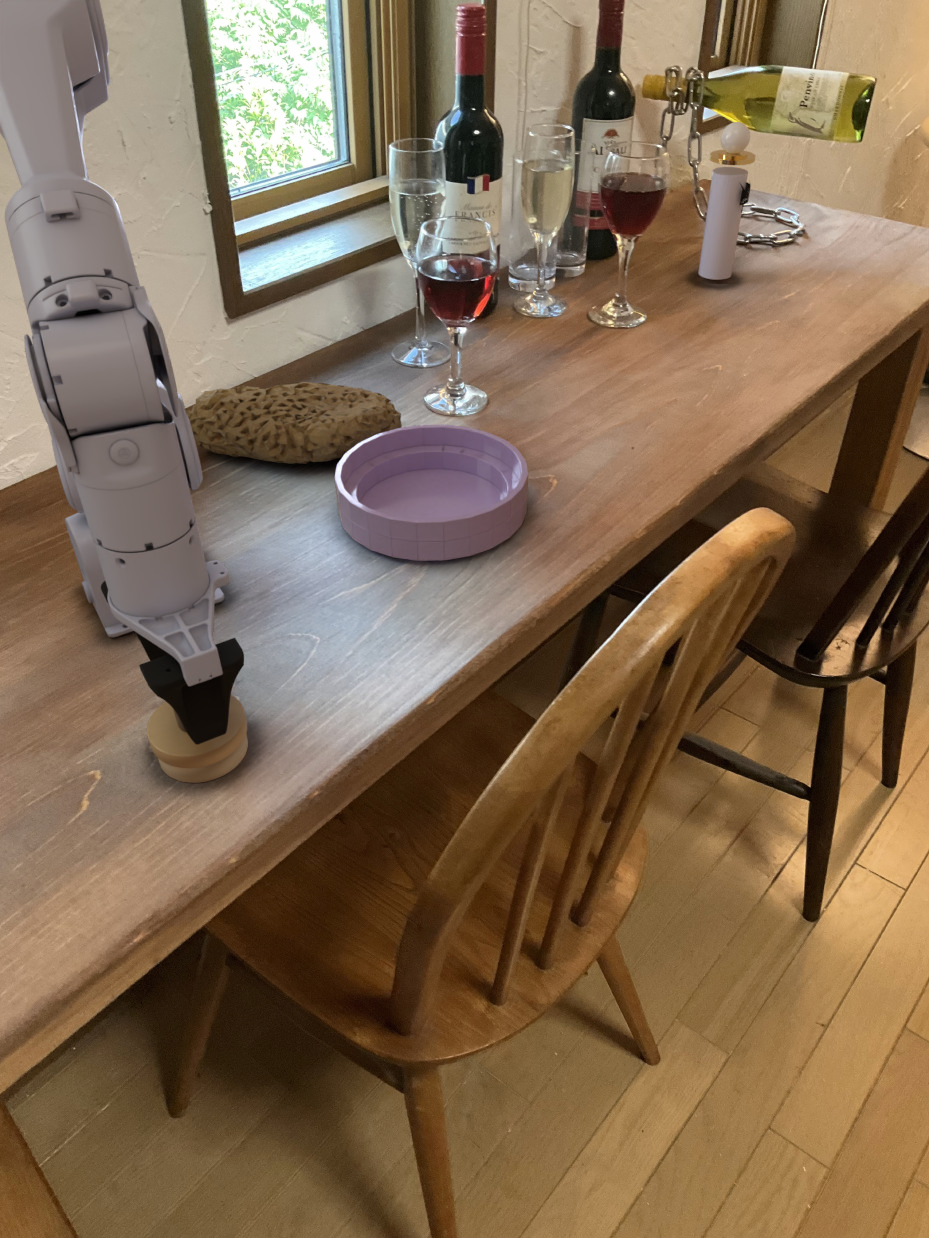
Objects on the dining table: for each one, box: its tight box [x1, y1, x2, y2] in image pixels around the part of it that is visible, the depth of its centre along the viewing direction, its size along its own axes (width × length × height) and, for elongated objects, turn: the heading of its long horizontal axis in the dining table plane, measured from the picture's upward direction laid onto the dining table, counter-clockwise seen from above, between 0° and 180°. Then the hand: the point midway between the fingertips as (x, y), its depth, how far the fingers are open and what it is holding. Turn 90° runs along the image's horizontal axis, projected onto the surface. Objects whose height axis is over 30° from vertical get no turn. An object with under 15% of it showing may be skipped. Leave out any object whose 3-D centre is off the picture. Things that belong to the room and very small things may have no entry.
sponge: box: [186, 381, 403, 465], centre depth 96 cm, size 13×8×20 cm
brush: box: [146, 693, 249, 784], centre depth 64 cm, size 6×6×7 cm
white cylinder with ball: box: [697, 121, 756, 281], centre depth 128 cm, size 6×6×20 cm
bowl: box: [333, 424, 529, 562], centre depth 87 cm, size 17×17×4 cm
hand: (190, 699), depth 63 cm, fingers open, 7 cm apart
